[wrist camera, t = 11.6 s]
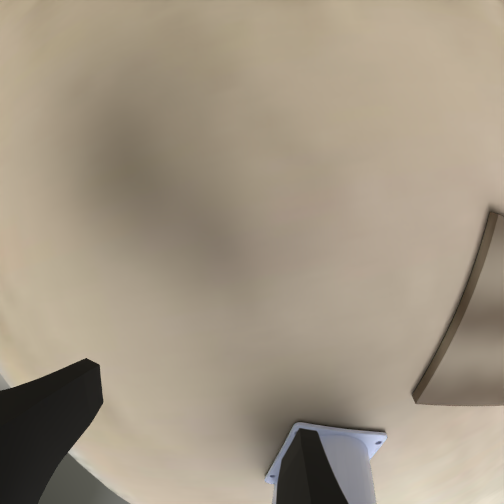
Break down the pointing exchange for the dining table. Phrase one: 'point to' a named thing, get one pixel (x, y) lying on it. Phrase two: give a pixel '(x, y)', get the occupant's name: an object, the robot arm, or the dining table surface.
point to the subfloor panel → (473, 335)
